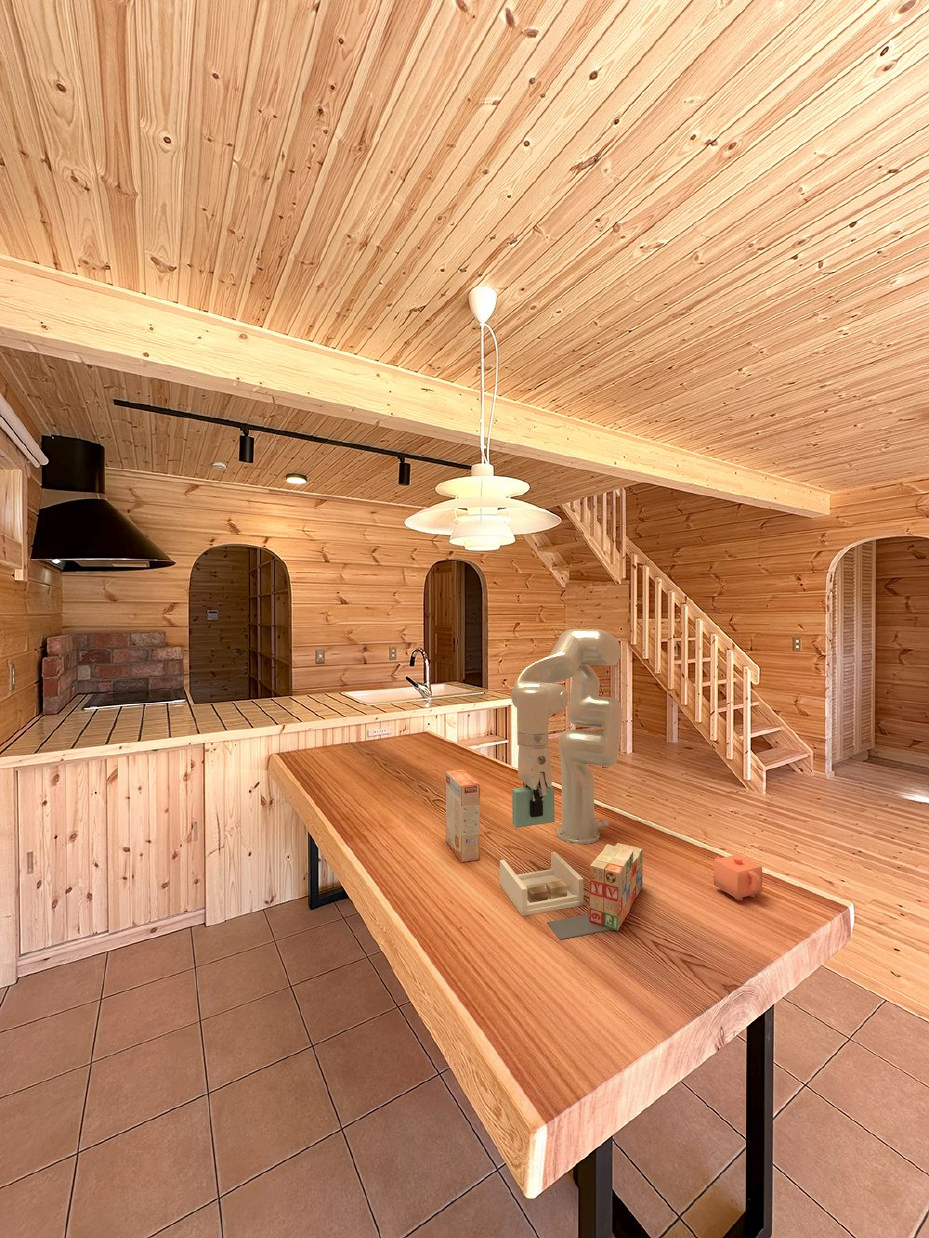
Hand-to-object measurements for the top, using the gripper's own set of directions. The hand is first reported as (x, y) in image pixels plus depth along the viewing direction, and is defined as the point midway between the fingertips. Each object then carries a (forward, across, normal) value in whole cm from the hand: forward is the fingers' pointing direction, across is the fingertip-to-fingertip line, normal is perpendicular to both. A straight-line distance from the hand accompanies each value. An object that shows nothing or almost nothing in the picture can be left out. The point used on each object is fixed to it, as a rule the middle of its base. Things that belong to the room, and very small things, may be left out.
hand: (533, 813), depth 126 cm
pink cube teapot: (+18, -17, -44) cm, 51 cm away
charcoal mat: (+18, -18, -2) cm, 25 cm away
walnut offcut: (+17, -8, +3) cm, 19 cm away
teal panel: (+2, 0, 0) cm, 2 cm away
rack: (+18, -4, 0) cm, 18 cm away
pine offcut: (+17, -8, -2) cm, 19 cm away
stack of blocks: (+18, -13, -14) cm, 26 cm away
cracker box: (+18, +23, +11) cm, 31 cm away
